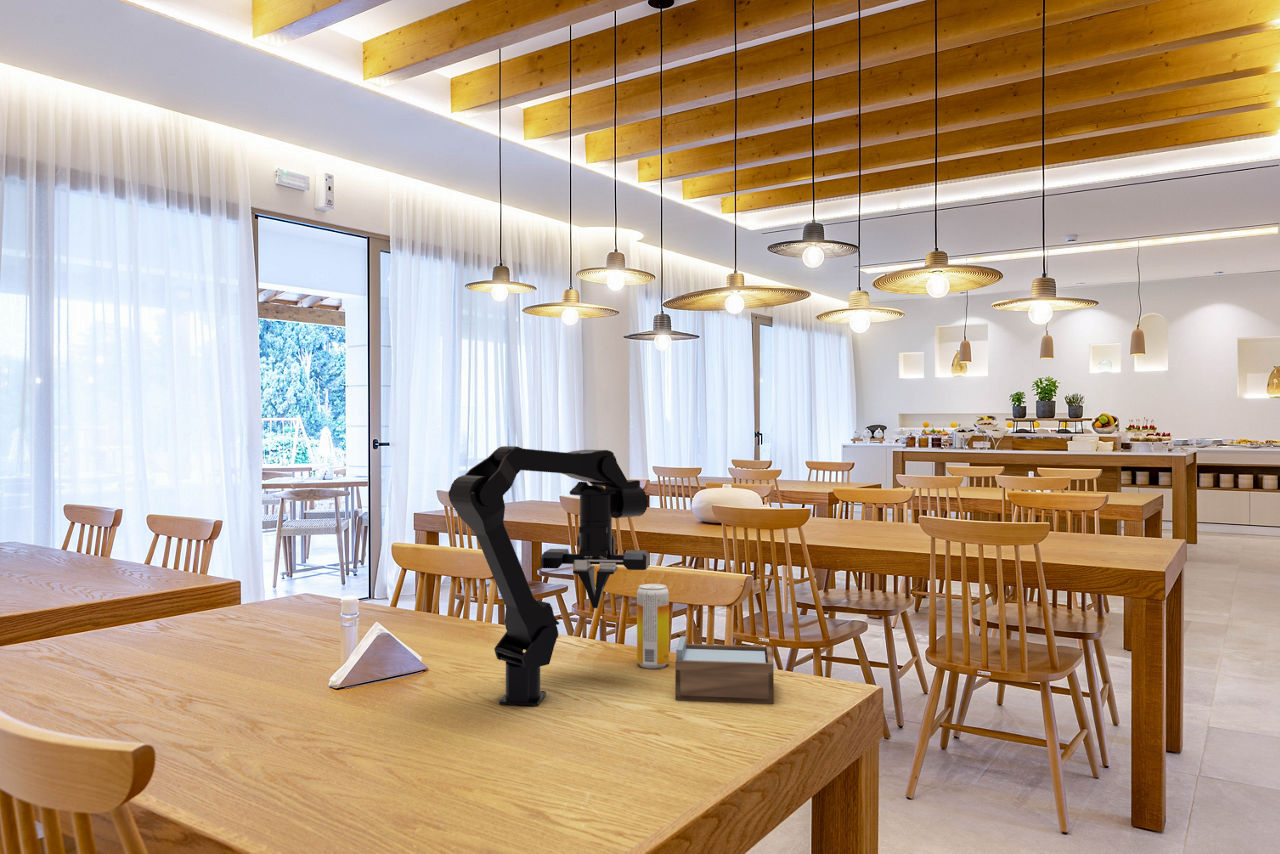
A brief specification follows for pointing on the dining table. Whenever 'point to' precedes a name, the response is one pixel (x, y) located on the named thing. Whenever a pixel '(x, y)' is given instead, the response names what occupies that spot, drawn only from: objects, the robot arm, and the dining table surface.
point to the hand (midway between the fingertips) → (595, 607)
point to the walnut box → (725, 678)
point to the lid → (717, 654)
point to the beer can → (652, 626)
